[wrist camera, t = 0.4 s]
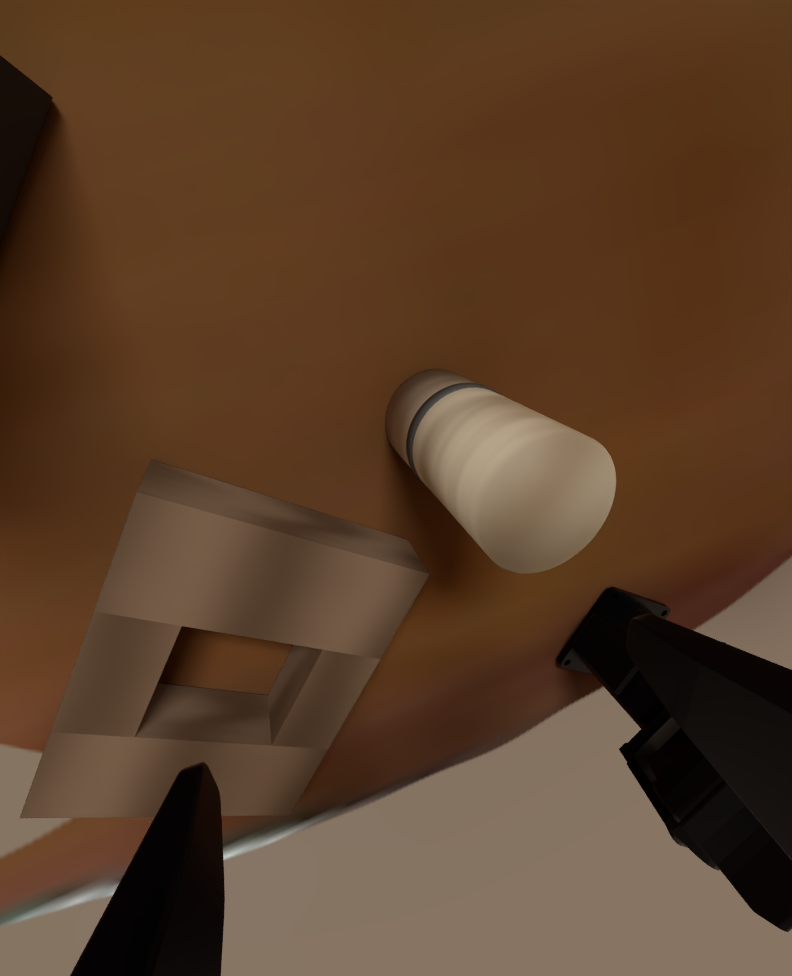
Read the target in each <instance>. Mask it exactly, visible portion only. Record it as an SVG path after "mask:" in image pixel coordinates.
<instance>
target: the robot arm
mask: <svg viewBox="0 0 792 976" xmlns="http://www.w3.org/2000/svg"><path fill="white" fill-rule="evenodd" d="M669 613H670V608H668V607H667V606H666V605H665V604H662V603H660V602H657V601H654V600H651V599H648V598H645V597H642V596H639V595H636V594H633V593H630V592H627V591H624V590H621V589H619V588H616V587H610V588H609V589H607V590H606V591H605V592H604V594H603V595H602V597H601V598H600V600H599V601H598V602H597V604H596V605H595V607H594V608H593V609H592V611H591V612H590V614H589V615H588V616H587V618H586V619H585V621H584V622H583V624H582V625H581V626H580V628H579V629H578V631H577V632H576V633H575V635H574V636H573V638H572V639H571V640H570V642H569V643H568V645H567V646H566V648H565V649H564V650H563V652H562V653H561V655H560V656H559V657H558V659H557V662H558V664H559V665H560V666H561V667H562V668H564V669H569V670H574V671H579V672H585V673H590V674H593V675H594V676H595V677H596V678H597V679H598V680H599V681H600V683H601V684H602V685H603V686H604V687H605V688H606V689H607V690H608V692H610V694H611V695H612V696H613V697H614V698H615V699H616V701H617V702H618V703H619V704H620V705H621V706H622V707H623V709H624V710H625V711H626V712H627V713H628V714H629V715H630V716H631V718H632V719H633V720H634V721H635V722H636V723H637V724H638V726H639V727H640V728H641V730H640V731H639V732H638V733H637V734H636V735H635V736H634V737H633V738H632V739H631V740H630V741H629V742H628V743H625V744H624V745H623V746H622V747H621V748H620V749H619V750H620V751H621V753H622V754H623V756H624V758H625V759H626V761H627V765H628V767H629V768H630V770H631V771H632V773H633V775H634V776H635V778H636V779H637V781H638V783H639V784H640V786H641V787H642V789H643V790H644V792H645V793H646V795H647V797H648V798H649V800H650V801H651V803H652V804H653V806H654V808H655V809H656V811H657V812H658V814H659V815H660V817H661V819H662V820H663V822H664V823H665V825H666V827H667V829H668V831H669V833H670V835H671V837H672V838H673V840H674V841H675V842H676V843H677V844H679V845H680V846H684V847H688V848H689V849H690V850H691V851H692V852H693V853H694V854H695V855H696V856H697V857H699V858H700V859H701V860H702V861H703V862H705V863H706V864H707V865H709V866H710V867H712V868H713V869H716V870H721V871H722V873H723V874H724V875H725V876H726V877H727V879H728V880H729V881H730V883H731V884H732V885H733V886H734V888H735V889H736V890H737V891H738V893H739V894H740V895H741V897H742V898H743V899H744V900H745V902H746V903H747V904H748V905H749V907H750V908H751V909H752V910H753V911H754V912H755V913H757V914H758V915H759V916H761V917H763V918H764V919H766V920H767V921H769V922H770V923H772V924H773V925H775V926H776V927H778V928H780V929H781V930H784V931H787V932H788V931H790V930H791V929H792V670H790V669H788V668H785V667H783V666H780V665H778V664H775V663H772V662H770V661H768V660H765V659H763V658H760V657H757V656H755V655H752V654H750V653H748V652H745V651H743V650H740V649H738V648H735V647H732V646H730V645H728V644H726V643H723V642H720V641H717V640H715V639H713V638H710V637H708V636H705V635H702V634H700V633H698V632H695V631H693V630H690V629H688V628H685V627H683V626H680V625H678V624H675V623H673V622H670V621H668V620H665V618H666V617H667V616H668V614H669ZM224 898H225V897H224V867H223V842H222V818H221V798H220V792H219V788H218V786H217V784H216V782H215V780H214V778H213V776H212V773H211V771H210V769H209V767H208V765H207V764H206V763H205V762H200V763H197V764H194V765H191V766H188V767H185V768H183V769H182V770H181V771H180V772H179V773H178V775H177V777H176V778H175V780H174V782H173V784H172V786H171V788H170V790H169V792H168V793H167V795H166V797H165V799H164V801H163V803H162V805H161V806H160V808H159V810H158V812H157V814H156V816H155V818H154V820H153V821H152V823H151V825H150V827H149V829H148V831H147V833H146V835H145V836H144V838H143V840H142V842H141V844H140V846H139V848H138V850H137V851H136V853H135V855H134V857H133V859H132V861H131V863H130V865H129V866H128V868H127V870H126V872H125V874H124V876H123V878H122V879H121V881H120V883H119V885H118V887H117V889H116V891H115V893H114V894H113V896H112V898H111V900H110V902H109V904H108V906H107V908H106V910H105V911H104V913H103V915H102V917H101V919H100V921H99V923H98V925H97V926H96V928H95V930H94V932H93V934H92V936H91V938H90V939H89V941H88V943H87V945H86V947H85V949H84V951H83V952H82V954H81V956H80V958H79V960H78V962H77V964H76V966H75V967H74V969H73V971H72V973H71V975H70V976H221V960H222V942H223V925H224V901H225V899H224Z"/></svg>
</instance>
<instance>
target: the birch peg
mask: <svg viewBox="0 0 792 976" xmlns="http://www.w3.org/2000/svg"><path fill="white" fill-rule="evenodd" d="M385 428H386V433H387V437H388V439H389V442H390V444H391V445H392V447H393V448H394V450H395V451H396V452H397V453H398V454H399V455H400V457H401V458H402V459H403V460H404V461H405V462H406V463H407V464H408V466H409V467H410V468H411V469H412V471H413V472H414V474H415V475H416V476H417V478H418V479H419V480H420V481H421V482H422V483H423V484H424V485H425V486H426V487H427V488H428V489H429V490H430V491H431V492H432V493H433V494H434V495H435V496H436V497H437V498H438V500H439V501H440V502H441V503H442V504H443V505H444V506H445V508H446V509H447V510H448V511H449V512H450V513H451V514H452V515H453V517H454V518H455V519H456V520H457V521H458V522H459V523H460V525H461V526H462V527H463V528H464V529H465V530H466V531H467V533H468V534H469V535H470V536H471V537H472V538H473V539H474V540H475V542H476V543H477V544H478V545H479V546H480V547H481V548H482V550H483V551H484V552H485V553H486V554H487V555H488V556H489V557H490V559H491V560H492V561H493V562H495V563H496V564H497V565H498V566H500V567H502V568H503V569H506V570H508V571H511V572H516V573H525V574H526V573H536V572H542V571H545V570H549V569H551V568H554V567H556V566H558V565H560V564H562V563H564V562H566V561H567V560H569V559H570V558H572V557H573V556H575V555H576V554H577V553H578V552H580V551H581V550H582V549H583V548H584V547H585V546H586V545H587V544H588V543H589V542H590V541H591V540H592V539H593V538H594V536H595V535H596V534H597V532H598V531H599V530H600V528H601V527H602V525H603V523H604V522H605V520H606V518H607V516H608V514H609V511H610V509H611V506H612V503H613V499H614V496H615V489H616V474H615V468H614V464H613V461H612V459H611V457H610V455H609V453H608V452H607V450H606V449H605V448H604V447H603V446H602V445H601V444H600V443H599V442H597V441H596V440H594V439H592V438H590V437H588V436H586V435H584V434H582V433H580V432H578V431H575V430H573V429H571V428H569V427H567V426H565V425H563V424H561V423H559V422H557V421H554V420H552V419H550V418H548V417H546V416H544V415H542V414H540V413H538V412H535V411H533V410H531V409H529V408H527V407H525V406H523V405H521V404H519V403H516V402H514V401H512V400H510V399H508V398H506V397H504V396H502V395H501V394H499V393H498V392H496V391H494V390H492V389H490V388H488V387H486V386H483V385H480V384H477V383H474V382H472V381H470V380H468V379H466V378H464V377H462V376H459V375H457V374H455V373H453V372H451V371H448V370H443V369H429V370H425V371H421V372H419V373H417V374H414V375H413V376H411V377H409V378H408V379H407V380H405V381H404V382H403V383H402V384H401V385H400V386H399V387H398V388H397V390H396V391H395V392H394V394H393V396H392V398H391V399H390V402H389V404H388V407H387V411H386V417H385Z"/></svg>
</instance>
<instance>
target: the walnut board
mask: <svg viewBox="0 0 792 976" xmlns="http://www.w3.org/2000/svg"><path fill="white" fill-rule="evenodd" d="M429 575H430V574H429V572H428V571H427V569H426V567H425V566H424V564H423V563H422V561H421V560H420V558H419V556H418V555H417V553H416V552H415V550H414V549H413V547H412V546H411V544H410V542H409V541H408V540H406V539H403V538H400V537H397V536H394V535H390V534H387V533H384V532H381V531H378V530H374V529H371V528H368V527H365V526H362V525H359V524H355V523H352V522H349V521H346V520H343V519H339V518H336V517H333V516H330V515H327V514H323V513H320V512H317V511H314V510H311V509H308V508H304V507H301V506H298V505H295V504H292V503H288V502H285V501H282V500H279V499H276V498H272V497H269V496H266V495H263V494H260V493H256V492H253V491H250V490H247V489H244V488H241V487H237V486H234V485H231V484H228V483H225V482H221V481H218V480H215V479H212V478H209V477H205V476H202V475H199V474H196V473H193V472H189V471H186V470H183V469H180V468H177V467H174V466H170V465H167V464H164V463H161V462H158V461H154V460H151V461H150V463H149V465H148V468H147V470H146V472H145V474H144V477H143V479H142V481H141V483H140V486H139V488H138V490H137V492H136V495H135V498H134V501H133V504H132V506H131V509H130V512H129V515H128V518H127V520H126V523H125V526H124V529H123V531H122V534H121V537H120V540H119V543H118V545H117V548H116V551H115V554H114V557H113V559H112V562H111V565H110V568H109V570H108V573H107V576H106V579H105V582H104V584H103V587H102V590H101V593H100V596H99V598H98V601H97V604H96V607H95V609H94V612H93V615H92V618H91V621H90V623H89V626H88V629H87V632H86V635H85V637H84V640H83V643H82V646H81V648H80V651H79V654H78V657H77V660H76V662H75V665H74V668H73V671H72V674H71V676H70V679H69V682H68V685H67V688H66V690H65V693H64V696H63V699H62V701H61V704H60V707H59V710H58V713H57V715H56V718H55V721H54V724H53V727H52V729H51V732H50V735H49V738H48V740H47V743H46V746H45V749H44V752H43V754H42V757H41V760H40V763H39V766H38V768H37V771H36V774H35V777H34V779H33V782H32V785H31V788H30V791H29V793H28V796H27V799H26V802H25V805H24V808H23V810H22V813H21V816H20V818H90V817H155V816H156V814H157V812H158V810H159V808H160V806H161V805H162V803H163V801H164V799H165V797H166V795H167V793H168V792H169V790H170V788H171V786H172V784H173V782H174V780H175V778H176V777H177V775H178V773H179V772H180V771H181V770H182V769H183V768H185V767H188V766H191V765H194V764H197V763H200V762H205V763H206V764H207V765H208V767H209V769H210V771H211V773H212V776H213V778H214V780H215V782H216V784H217V786H218V788H219V792H220V798H221V816H284V815H290V814H291V813H292V811H293V809H294V807H295V806H296V804H297V802H298V801H299V799H300V797H301V795H302V794H303V792H304V790H305V788H306V787H307V785H308V783H309V782H310V780H311V778H312V776H313V775H314V773H315V771H316V770H317V768H318V766H319V764H320V763H321V761H322V759H323V757H324V756H325V754H326V752H327V751H328V749H329V747H330V745H331V744H332V742H333V740H334V739H335V737H336V735H337V733H338V732H339V730H340V728H341V726H342V725H343V723H344V721H345V720H346V718H347V716H348V714H349V713H350V711H351V709H352V707H353V706H354V704H355V702H356V701H357V699H358V697H359V695H360V694H361V692H362V690H363V689H364V687H365V685H366V683H367V682H368V680H369V678H370V676H371V675H372V673H373V671H374V670H375V668H376V666H377V664H378V663H379V661H380V659H381V657H382V656H383V654H384V652H385V651H386V649H387V647H388V645H389V644H390V642H391V640H392V639H393V637H394V635H395V633H396V632H397V630H398V628H399V626H400V625H401V623H402V621H403V620H404V618H405V616H406V614H407V613H408V611H409V609H410V607H411V606H412V604H413V602H414V601H415V599H416V597H417V595H418V594H419V592H420V590H421V589H422V587H423V585H424V583H425V582H426V580H427V578H428V576H429ZM182 626H184V627H190V628H196V629H202V630H208V631H214V632H220V633H226V634H232V635H238V636H244V637H250V638H256V639H262V640H268V641H274V642H280V643H286V644H292V645H293V647H292V649H291V651H290V653H289V655H288V657H287V659H286V661H285V663H284V665H283V667H282V669H281V671H280V673H279V674H278V676H277V678H276V680H275V682H274V684H273V686H272V688H271V690H270V692H269V694H268V695H260V694H251V693H242V692H233V691H225V690H216V689H207V688H198V687H189V686H180V685H171V684H162V683H158V681H159V678H160V676H161V674H162V671H163V669H164V667H165V664H166V662H167V660H168V657H169V655H170V653H171V650H172V648H173V646H174V643H175V641H176V638H177V636H178V634H179V631H180V629H181V627H182Z"/></svg>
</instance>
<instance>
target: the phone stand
mask: <svg viewBox="0 0 792 976" xmlns="http://www.w3.org/2000/svg"><path fill="white" fill-rule="evenodd" d="M51 100H52V96H50V95H49V94H48V93H47V92H45V91H44V90H43V89H42V88H40V87H39V86H38V85H37V84H35V83H34V82H33V81H32V80H30V79H29V78H28V77H27V76H25V75H24V74H23V73H22V72H20V71H19V70H18V69H17V68H15V67H14V66H13V65H12V64H10V63H9V62H8V61H7V60H5V59H4V58H3V57H2V56H0V243H1V240H2V237H3V235H4V232H5V229H6V226H7V223H8V221H9V218H10V215H11V212H12V209H13V207H14V204H15V201H16V198H17V195H18V193H19V190H20V187H21V184H22V181H23V179H24V176H25V173H26V170H27V168H28V165H29V162H30V159H31V156H32V154H33V151H34V148H35V145H36V142H37V140H38V137H39V134H40V131H41V128H42V126H43V123H44V120H45V117H46V114H47V112H48V109H49V106H50V103H51Z"/></svg>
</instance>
